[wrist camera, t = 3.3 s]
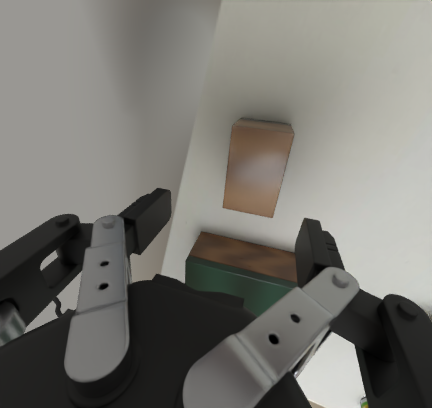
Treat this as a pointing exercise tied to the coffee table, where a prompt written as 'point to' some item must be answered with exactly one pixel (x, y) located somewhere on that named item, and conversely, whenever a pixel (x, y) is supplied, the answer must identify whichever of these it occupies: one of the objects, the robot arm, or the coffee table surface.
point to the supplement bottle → (364, 403)
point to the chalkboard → (241, 270)
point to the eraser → (256, 165)
